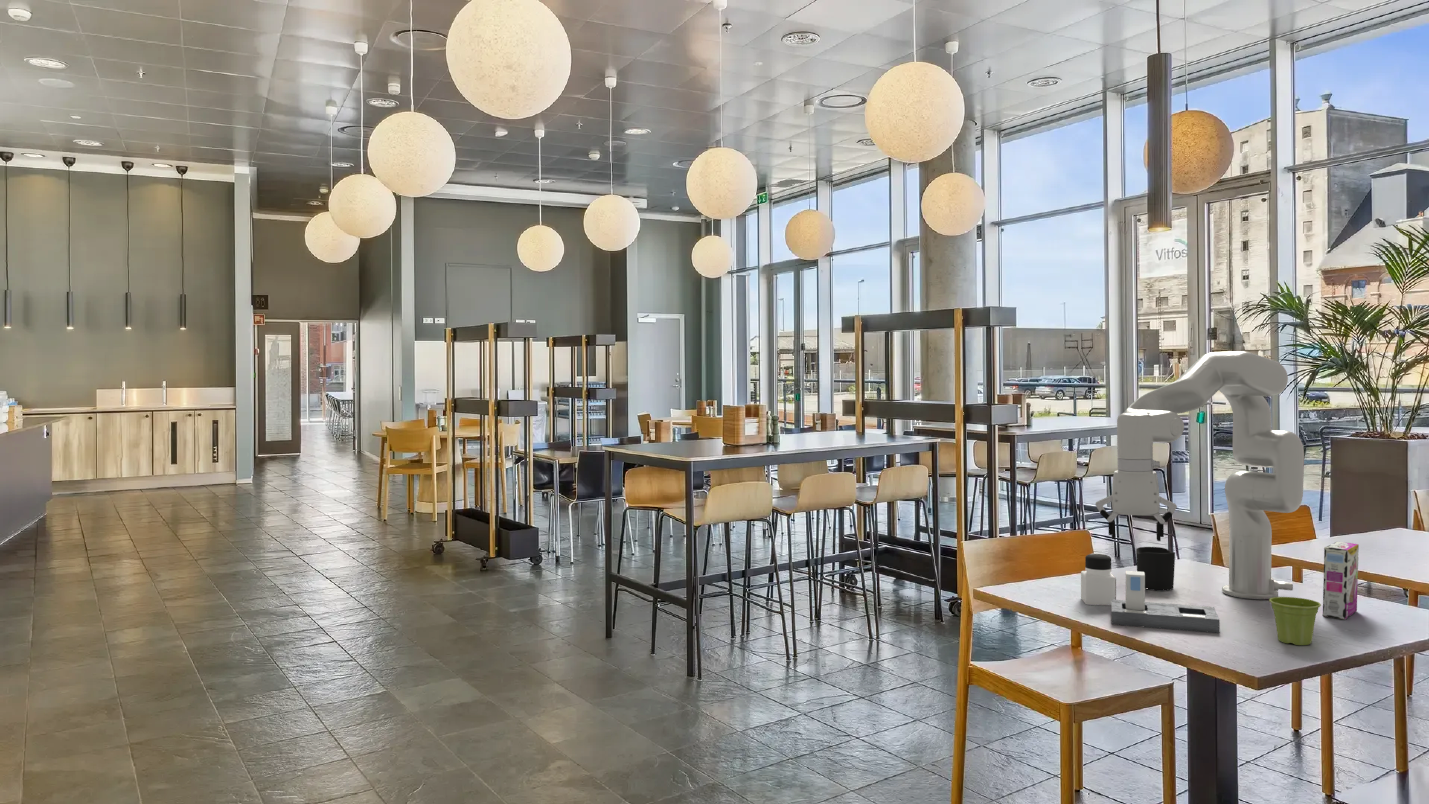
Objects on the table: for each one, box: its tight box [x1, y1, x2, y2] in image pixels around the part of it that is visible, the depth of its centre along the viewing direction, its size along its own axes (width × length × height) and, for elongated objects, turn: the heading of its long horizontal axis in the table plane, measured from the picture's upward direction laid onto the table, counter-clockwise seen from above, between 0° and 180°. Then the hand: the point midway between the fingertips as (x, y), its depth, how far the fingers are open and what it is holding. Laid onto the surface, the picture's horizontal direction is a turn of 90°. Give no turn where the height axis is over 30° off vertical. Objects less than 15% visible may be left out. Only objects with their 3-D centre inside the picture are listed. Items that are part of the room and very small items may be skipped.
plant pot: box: [1268, 596, 1322, 646], centre depth 204 cm, size 9×9×9 cm
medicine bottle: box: [1080, 553, 1117, 607], centre depth 240 cm, size 7×7×12 cm
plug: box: [1125, 570, 1146, 610], centre depth 223 cm, size 4×5×11 cm
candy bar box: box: [1322, 541, 1360, 620], centre depth 225 cm, size 11×5×16 cm, turn 134°
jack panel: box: [1110, 599, 1221, 634], centre depth 221 cm, size 22×12×3 cm, turn 68°
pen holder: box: [1135, 546, 1176, 591], centre depth 255 cm, size 9×9×10 cm
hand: (1135, 539), depth 223 cm, fingers open, 9 cm apart
